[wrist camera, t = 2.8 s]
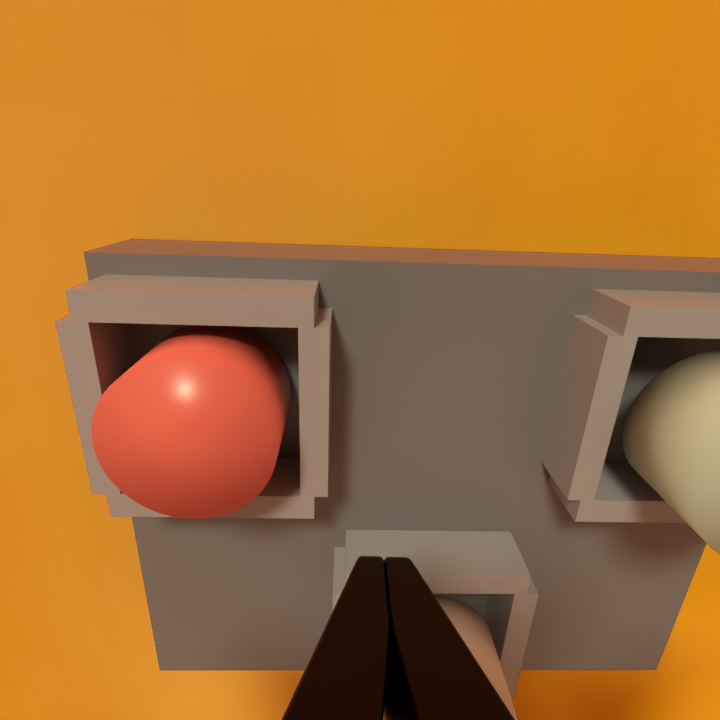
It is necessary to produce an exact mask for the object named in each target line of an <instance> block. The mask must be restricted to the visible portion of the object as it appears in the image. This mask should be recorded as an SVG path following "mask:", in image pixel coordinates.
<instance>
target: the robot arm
mask: <svg viewBox="0 0 720 720" xmlns="http://www.w3.org/2000/svg"><path fill="white" fill-rule="evenodd" d="M383 719H384V720H515V719H514V717H513V716H512V714H511V713H510V711H509V710H508V708H507V707H506V705H505V704H504V702H503V701H502V699H501V697H500V696H499V694H498V693H497V691H496V690H495V688H494V687H493V685H492V684H491V682H490V680H489V679H488V677H487V676H486V674H485V673H484V671H483V670H482V668H481V667H480V665H479V664H478V662H477V660H476V659H475V657H474V656H473V654H472V653H471V651H470V650H469V648H468V647H467V645H466V643H465V642H464V640H463V639H462V637H461V636H460V634H459V633H458V631H457V630H456V628H455V627H454V625H453V623H452V622H451V620H450V619H449V617H448V616H447V614H446V613H445V611H444V610H443V608H442V606H441V605H440V603H439V602H438V600H437V599H436V597H435V596H434V594H433V593H432V591H431V590H430V588H429V586H428V585H427V583H426V582H425V580H424V579H423V577H422V576H421V574H420V573H419V571H418V569H417V568H416V566H415V565H414V563H413V562H412V560H411V559H409V558H408V557H386V558H385V560H383V558H382V557H380V556H360V557H359V558H358V559H357V560H356V562H355V565H354V567H353V569H352V571H351V573H350V575H349V577H348V580H347V582H346V584H345V586H344V588H343V590H342V592H341V594H340V597H339V599H338V601H337V603H336V605H335V607H334V609H333V612H332V614H331V616H330V618H329V620H328V622H327V624H326V626H325V629H324V631H323V633H322V635H321V637H320V639H319V641H318V644H317V646H316V648H315V650H314V652H313V654H312V656H311V658H310V661H309V663H308V665H307V667H306V669H305V671H304V673H303V676H302V678H301V680H300V682H299V684H298V686H297V688H296V690H295V693H294V695H293V697H292V699H291V701H290V703H289V705H288V708H287V710H286V712H285V714H284V716H283V718H282V720H383Z"/></svg>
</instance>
